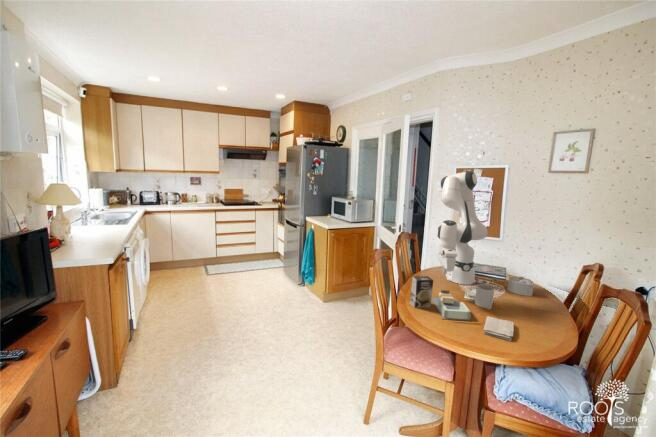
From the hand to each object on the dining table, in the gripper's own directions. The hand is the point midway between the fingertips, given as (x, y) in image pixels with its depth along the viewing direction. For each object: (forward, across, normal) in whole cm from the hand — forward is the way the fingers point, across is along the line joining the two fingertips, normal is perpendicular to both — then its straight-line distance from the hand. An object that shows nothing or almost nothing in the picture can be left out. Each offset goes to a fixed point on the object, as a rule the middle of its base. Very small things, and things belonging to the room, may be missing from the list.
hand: (444, 273), depth 177 cm
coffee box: (+15, +14, -15) cm, 26 cm away
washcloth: (+15, +33, +17) cm, 40 cm away
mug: (+15, +6, +21) cm, 26 cm away
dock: (+15, +15, 0) cm, 21 cm away
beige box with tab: (+14, +8, 0) cm, 16 cm away
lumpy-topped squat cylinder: (+15, -17, +52) cm, 57 cm away
